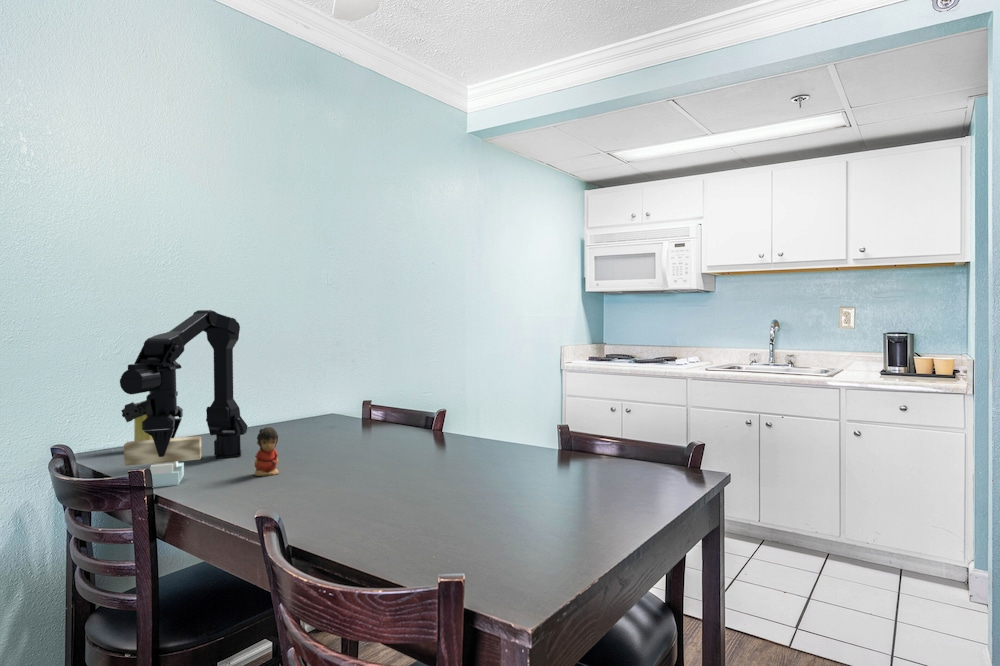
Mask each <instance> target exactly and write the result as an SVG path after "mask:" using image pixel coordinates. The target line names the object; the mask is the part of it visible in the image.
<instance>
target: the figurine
mask: <svg viewBox="0 0 1000 666" xmlns="http://www.w3.org/2000/svg"><path fill="white" fill-rule="evenodd" d="M258 432H259V433H258V434H257V437H256V439H257V441H256V444H257V445H258V446H259V447H260V448H259V450H258V451H257V453H256V455H255V456H254V457H255V458H256V459H255V460H254V468H255V471H254V476H257V477H267V476H270V477H271V476H276V475H279V474H280V473H279V470H278V469H277V464H278V463H279V459H278V455H279V454H278V452H277V450H276V447H277V445H278V444H277V443H278V442H279V435H278V432H277V431H276V429H275V428H274V427H271V426H266V427H264V428H260V429H259V431H258Z"/></svg>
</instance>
